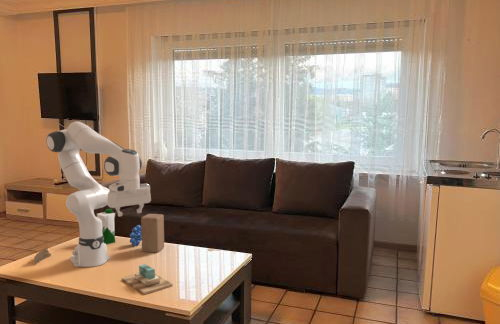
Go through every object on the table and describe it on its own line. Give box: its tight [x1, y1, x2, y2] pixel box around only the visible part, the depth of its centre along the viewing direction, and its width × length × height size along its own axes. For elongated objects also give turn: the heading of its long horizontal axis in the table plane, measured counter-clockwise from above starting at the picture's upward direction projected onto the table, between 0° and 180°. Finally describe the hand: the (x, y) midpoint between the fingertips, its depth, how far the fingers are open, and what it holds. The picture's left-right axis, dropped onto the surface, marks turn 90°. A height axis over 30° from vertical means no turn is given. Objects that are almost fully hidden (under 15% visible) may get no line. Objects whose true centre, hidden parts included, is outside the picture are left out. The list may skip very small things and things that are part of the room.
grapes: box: [129, 224, 142, 247], centre depth 247 cm, size 12×7×12 cm, turn 154°
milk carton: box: [96, 208, 116, 245], centre depth 251 cm, size 9×9×20 cm
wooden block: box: [140, 213, 165, 253], centre depth 238 cm, size 10×10×20 cm
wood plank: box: [33, 247, 52, 266], centre depth 221 cm, size 15×2×5 cm, turn 0°
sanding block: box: [134, 263, 160, 287], centre depth 191 cm, size 12×6×6 cm, turn 43°
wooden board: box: [121, 273, 174, 296], centre depth 192 cm, size 22×14×1 cm, turn 42°
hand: (129, 214), depth 192 cm, fingers open, 8 cm apart
